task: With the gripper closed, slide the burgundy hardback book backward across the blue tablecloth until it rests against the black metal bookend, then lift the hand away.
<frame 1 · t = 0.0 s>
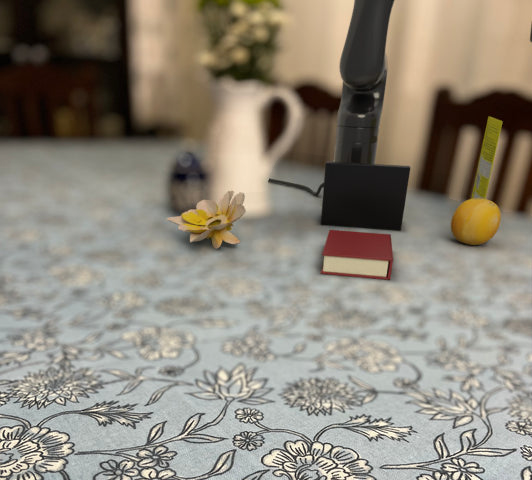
decorative flower: (207, 241, 93), on the table
book: (356, 262, 85), on the table
fruit: (470, 244, 97), on the table
food package: (473, 218, 114), on the table
bookend: (360, 226, 105), on the table
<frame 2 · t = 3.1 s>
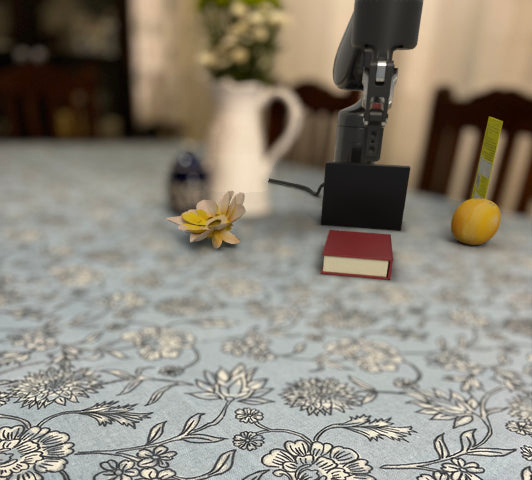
hand: (370, 156, 65), 18 cm above the table, tool pointing down, fingers open, 7 cm apart
nothing on the table moved.
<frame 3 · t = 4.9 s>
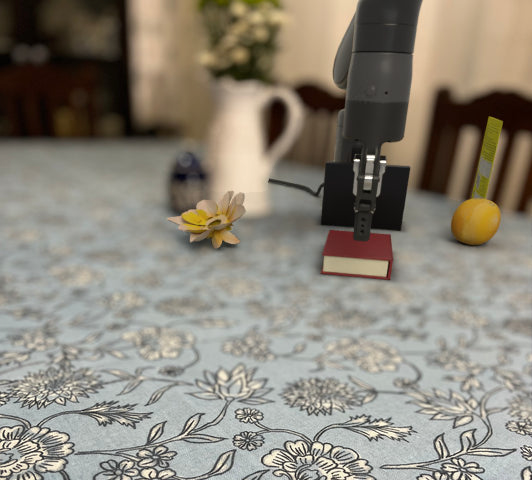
hand: (360, 239, 70), 7 cm above the table, tool pointing down, fingers closed
nothing on the table moved.
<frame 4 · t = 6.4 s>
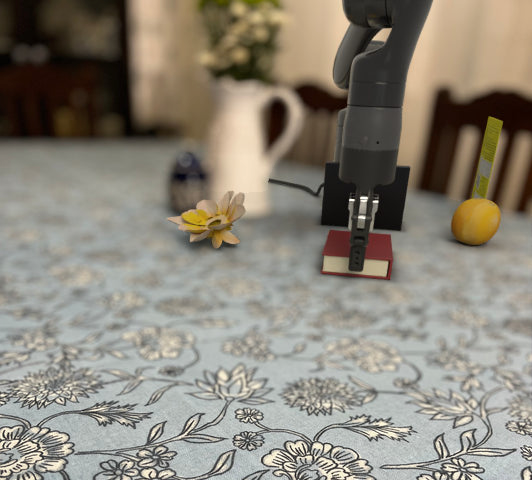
hand: (355, 269, 76), 2 cm above the table, tool pointing down, fingers closed
book: (356, 262, 85), on the table, touching gripper
everything else where it was.
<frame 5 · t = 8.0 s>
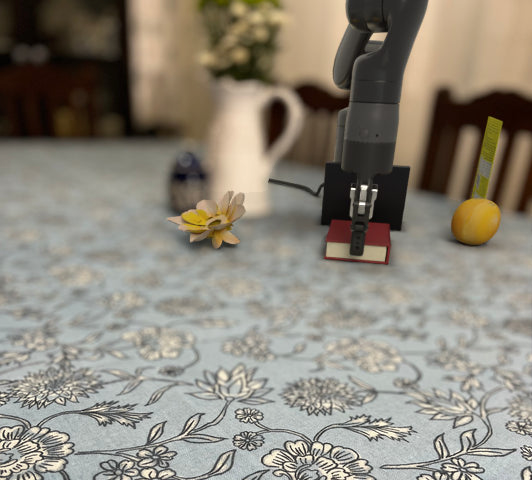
hand: (356, 254, 83), 2 cm above the table, tool pointing down, fingers closed
book: (357, 249, 91), on the table, touching gripper
everything else where it was.
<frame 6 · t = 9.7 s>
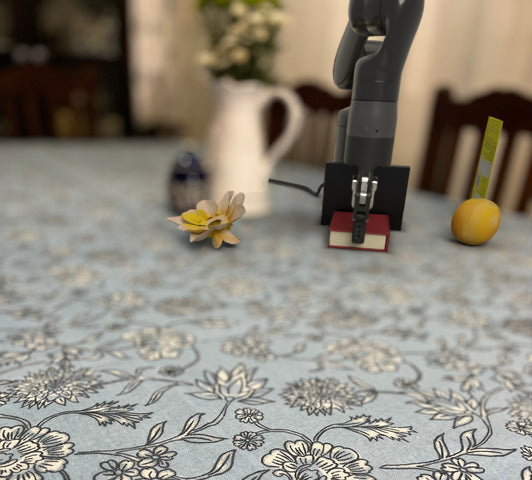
hand: (357, 242, 89), 2 cm above the table, tool pointing down, fingers closed
book: (358, 238, 97), on the table, touching gripper
everything else where it was.
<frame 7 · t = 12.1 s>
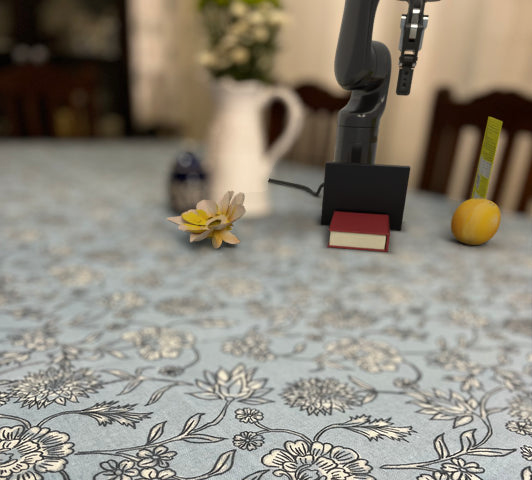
hand: (402, 95, 83), 24 cm above the table, tool pointing down, fingers closed
book: (358, 238, 97), on the table
everything else where it was.
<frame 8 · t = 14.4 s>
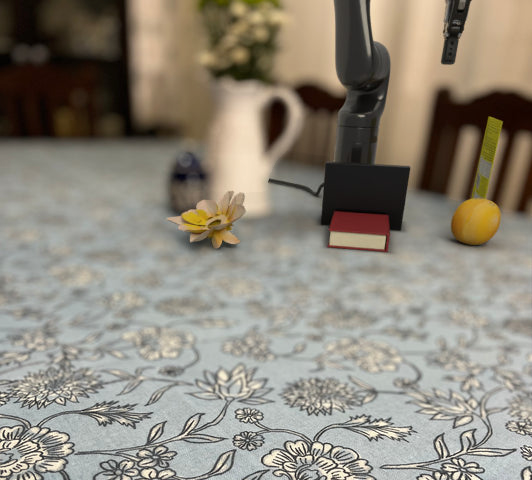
hand: (447, 64, 89), 29 cm above the table, tool pointing down, fingers closed
nothing on the table moved.
at the end: book 9.2 cm from the bookend (horizontally); book moved 14.2 cm from its start; the gripper is holding nothing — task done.
